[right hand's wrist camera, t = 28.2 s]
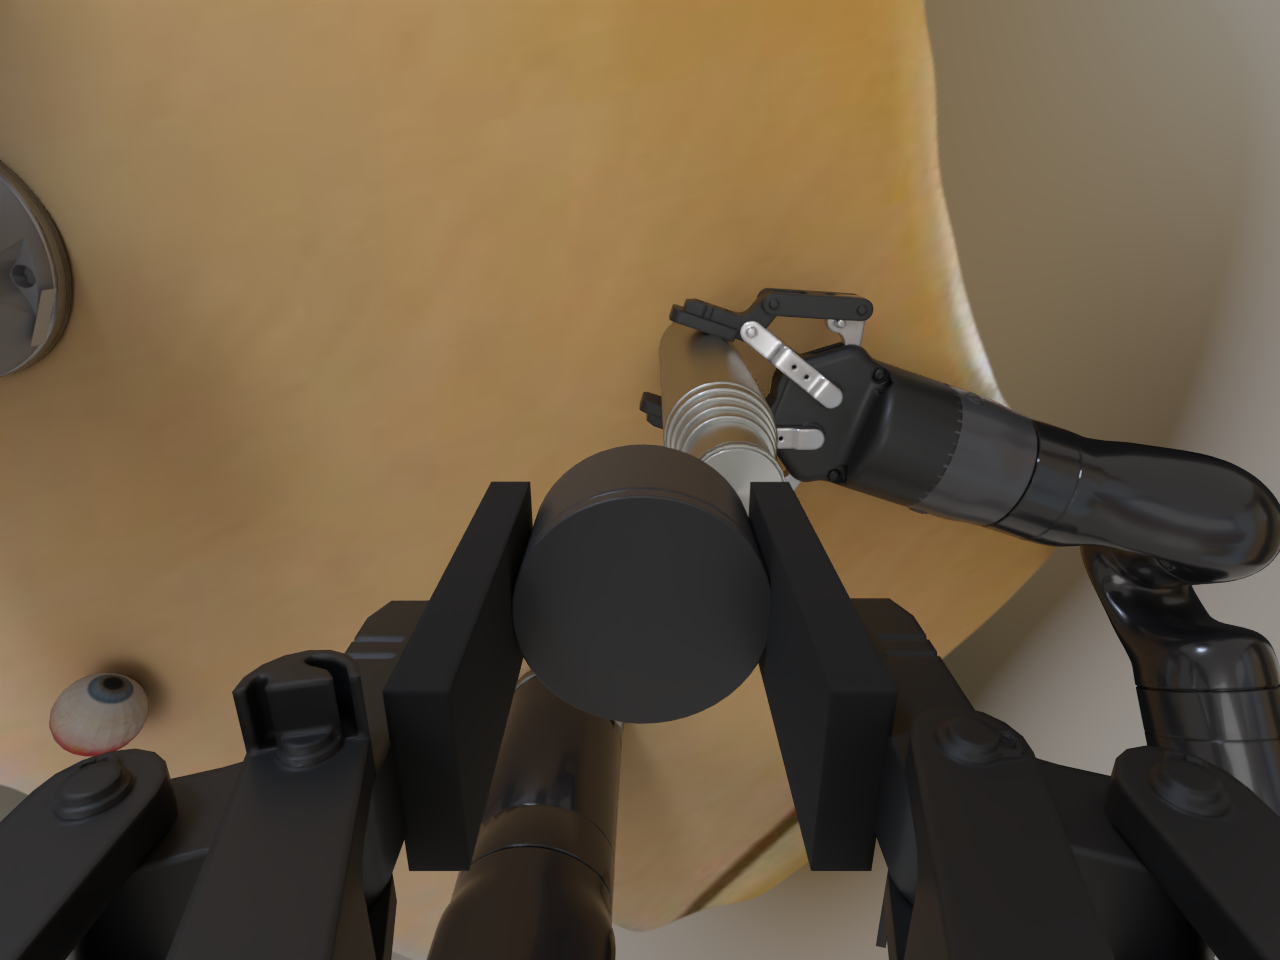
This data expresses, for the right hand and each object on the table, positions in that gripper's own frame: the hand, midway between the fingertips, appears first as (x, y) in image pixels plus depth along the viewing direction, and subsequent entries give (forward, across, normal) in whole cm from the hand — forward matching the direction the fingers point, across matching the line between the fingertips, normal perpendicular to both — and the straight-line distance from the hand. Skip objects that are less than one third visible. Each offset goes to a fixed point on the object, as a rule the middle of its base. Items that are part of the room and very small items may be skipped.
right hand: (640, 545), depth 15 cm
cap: (0, 0, 0) cm, 0 cm away
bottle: (+35, +4, -3) cm, 35 cm away
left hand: (+28, +1, -2) cm, 29 cm away
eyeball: (+35, -40, -30) cm, 61 cm away
